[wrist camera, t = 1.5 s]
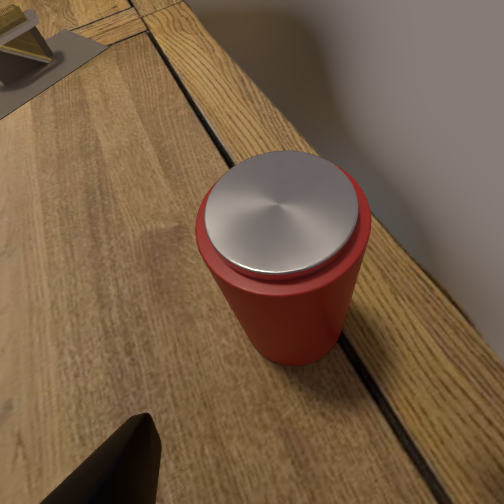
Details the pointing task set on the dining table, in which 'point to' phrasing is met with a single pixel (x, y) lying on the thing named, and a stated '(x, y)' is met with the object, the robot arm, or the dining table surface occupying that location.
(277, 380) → the dining table surface
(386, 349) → the dining table surface
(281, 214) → the can
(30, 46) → the platform
